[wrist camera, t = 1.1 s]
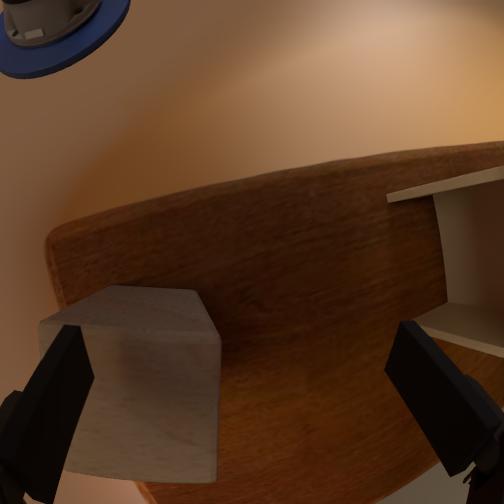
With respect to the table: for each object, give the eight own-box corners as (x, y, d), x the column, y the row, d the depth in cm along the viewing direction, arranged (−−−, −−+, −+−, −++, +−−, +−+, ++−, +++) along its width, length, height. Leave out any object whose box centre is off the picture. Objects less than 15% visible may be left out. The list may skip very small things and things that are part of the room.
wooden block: (108, 284, 33) (34, 320, 13) (197, 289, 35) (223, 334, 16) (110, 369, 33) (60, 472, 13) (195, 374, 35) (218, 485, 16)
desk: (397, 338, 41) (541, 387, 18) (373, 190, 40) (531, 147, 16) (455, 309, 44) (581, 332, 20) (436, 180, 43) (569, 150, 19)
